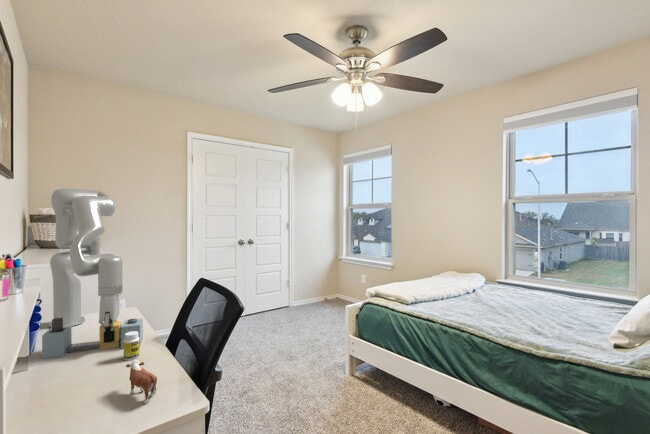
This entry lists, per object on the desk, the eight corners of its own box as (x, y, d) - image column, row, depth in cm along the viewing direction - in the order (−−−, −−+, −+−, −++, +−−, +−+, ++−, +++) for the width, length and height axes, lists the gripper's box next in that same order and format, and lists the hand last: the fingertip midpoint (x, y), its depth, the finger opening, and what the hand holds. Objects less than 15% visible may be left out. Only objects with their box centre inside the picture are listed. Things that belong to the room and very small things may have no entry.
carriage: (102, 344, 124) (102, 322, 124) (121, 341, 126) (121, 320, 126) (99, 349, 120) (99, 327, 119) (118, 346, 122) (118, 325, 122)
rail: (69, 349, 119) (69, 344, 119) (124, 343, 126) (124, 337, 126) (66, 353, 117) (66, 347, 117) (122, 346, 123) (122, 340, 123)
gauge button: (53, 329, 118) (53, 318, 117) (64, 328, 119) (64, 317, 119) (50, 332, 115) (50, 320, 115) (61, 331, 116) (61, 319, 116)
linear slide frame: (51, 349, 120) (51, 324, 119) (142, 338, 131) (142, 315, 130) (42, 359, 112) (42, 332, 112) (140, 346, 123) (140, 322, 123)
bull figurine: (139, 383, 98) (139, 356, 97) (160, 400, 89) (160, 370, 89) (123, 389, 94) (122, 361, 94) (143, 408, 86) (143, 377, 85)
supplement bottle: (132, 361, 111) (132, 336, 111) (120, 359, 112) (120, 335, 112) (142, 355, 116) (142, 331, 116) (131, 353, 117) (130, 330, 117)
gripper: (103, 285, 129) (104, 332, 129) (92, 296, 113) (92, 349, 114) (126, 284, 132) (126, 329, 132) (117, 294, 116) (118, 346, 117)
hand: (110, 338), depth 123 cm, fingers closed on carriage, 5 cm apart
